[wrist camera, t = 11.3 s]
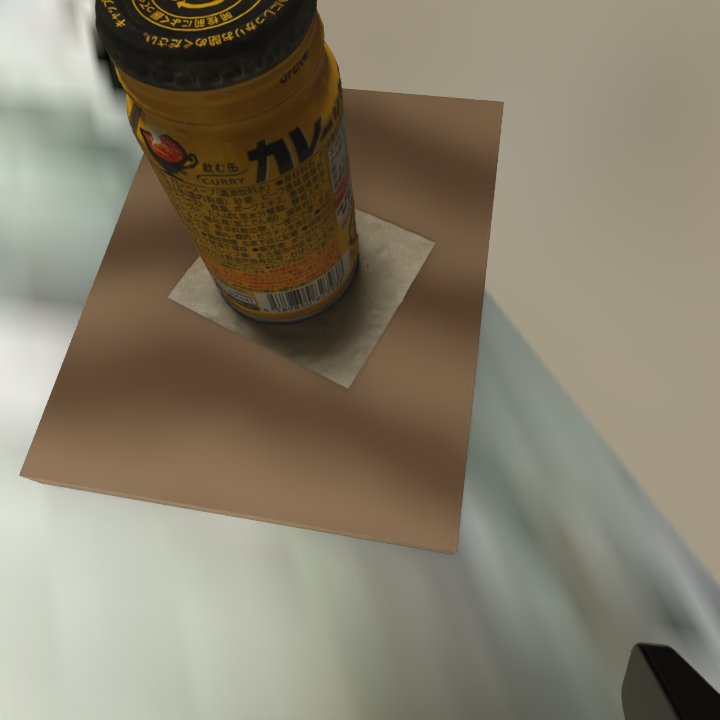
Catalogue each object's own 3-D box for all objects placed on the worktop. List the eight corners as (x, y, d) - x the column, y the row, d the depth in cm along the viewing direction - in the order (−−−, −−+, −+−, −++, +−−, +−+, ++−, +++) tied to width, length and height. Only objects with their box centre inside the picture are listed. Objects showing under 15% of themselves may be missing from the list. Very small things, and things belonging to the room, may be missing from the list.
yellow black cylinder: (264, 172, 26) (170, -141, 15) (435, 245, 24) (468, -53, 13) (169, 300, 24) (-24, 41, 13) (348, 392, 22) (302, 179, 11)
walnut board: (453, 554, 21) (456, 550, 20) (41, 483, 23) (18, 475, 22) (498, 126, 28) (503, 102, 27) (184, 98, 30) (174, 74, 29)
